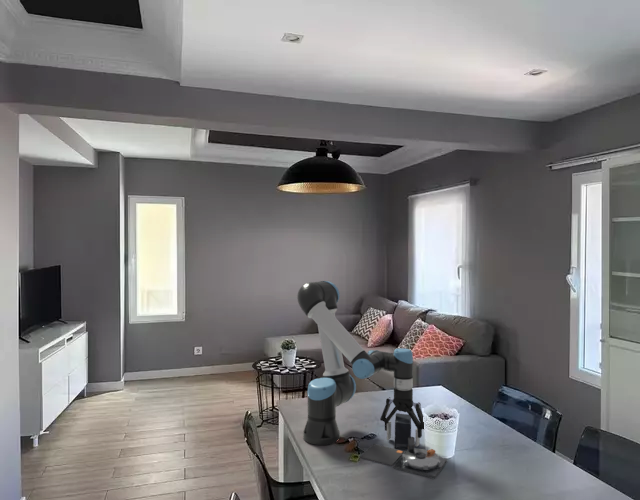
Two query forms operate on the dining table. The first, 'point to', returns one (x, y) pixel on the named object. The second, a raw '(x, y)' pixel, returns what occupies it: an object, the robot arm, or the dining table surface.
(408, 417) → the small box
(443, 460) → the sprocket base
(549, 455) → the dining table surface
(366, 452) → the pad
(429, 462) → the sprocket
